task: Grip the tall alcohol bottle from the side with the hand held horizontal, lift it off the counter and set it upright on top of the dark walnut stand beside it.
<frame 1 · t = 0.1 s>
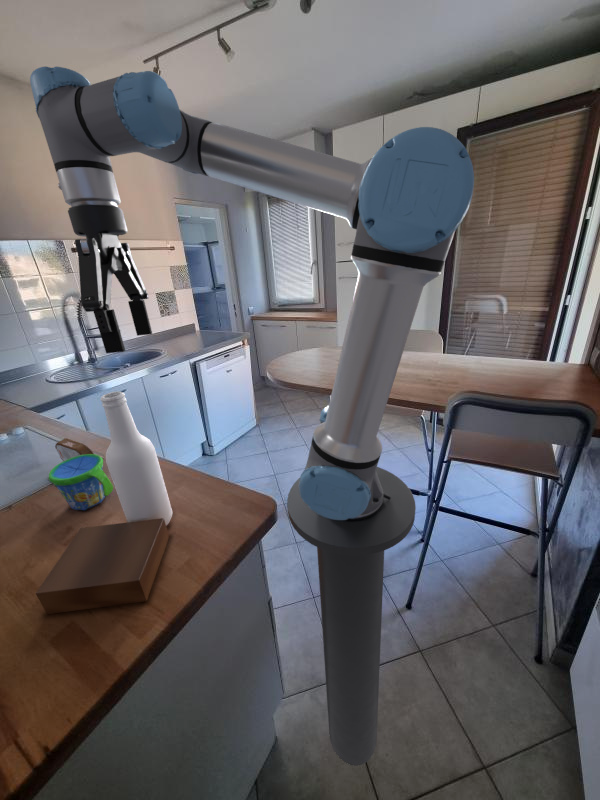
hand: (131, 342, 60), 39 cm above the counter, tool pointing down, fingers open, 13 cm apart
stand: (115, 571, 61), on the counter
snack cup: (89, 501, 81), on the counter
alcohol: (152, 522, 72), on the counter
tin: (81, 468, 95), on the counter
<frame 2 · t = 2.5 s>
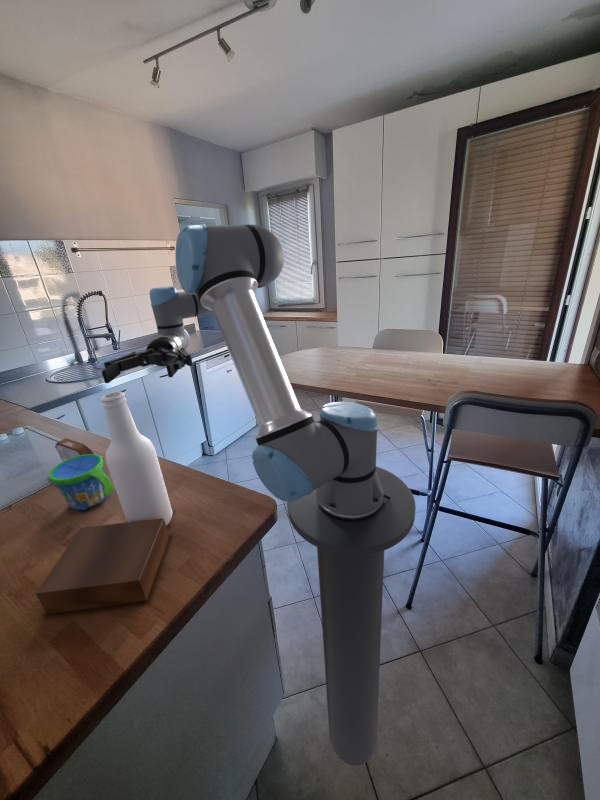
hand: (137, 374, 72), 30 cm above the counter, tool horizontal, fingers open, 13 cm apart
nothing on the counter moved.
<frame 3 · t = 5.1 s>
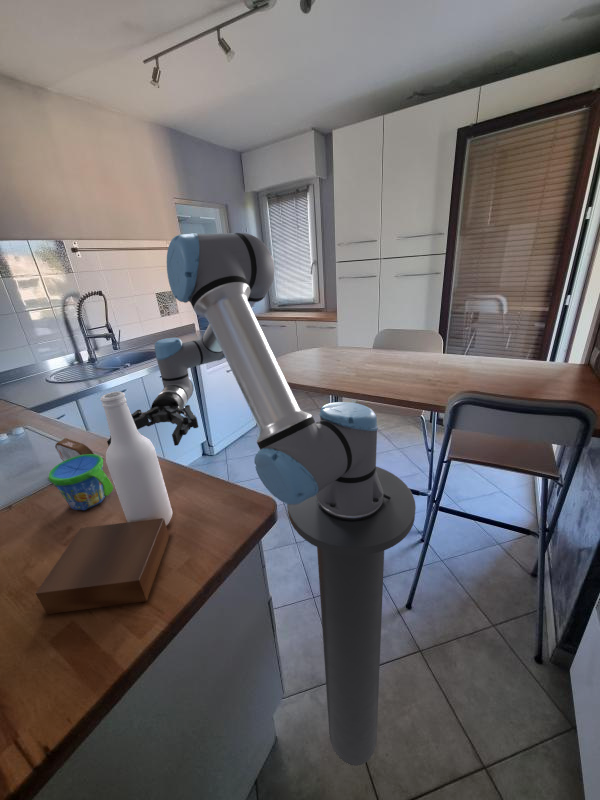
hand: (142, 443, 72), 16 cm above the counter, tool horizontal, fingers open, 13 cm apart
nothing on the counter moved.
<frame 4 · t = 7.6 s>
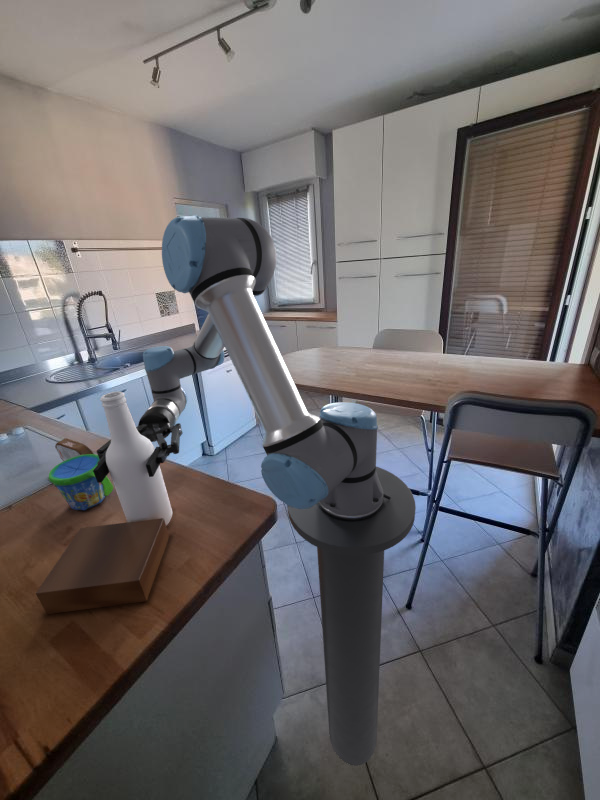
hand: (123, 473, 62), 16 cm above the counter, tool horizontal, fingers closed on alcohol, 9 cm apart
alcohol: (152, 522, 72), on the counter, touching gripper
everything else where it was.
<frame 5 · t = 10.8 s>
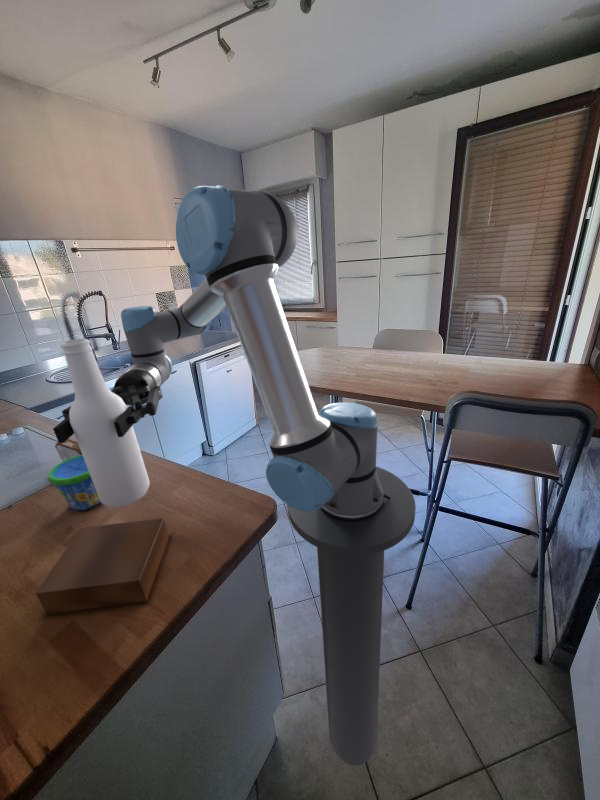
hand: (88, 432, 54), 27 cm above the counter, tool horizontal, fingers closed on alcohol, 9 cm apart
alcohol: (126, 494, 65), point 11 cm above the counter, touching gripper
everything else where it was.
when the fingers open (21 cm above the counter, at t = 14.3 s): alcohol stays where it is, resting on stand.
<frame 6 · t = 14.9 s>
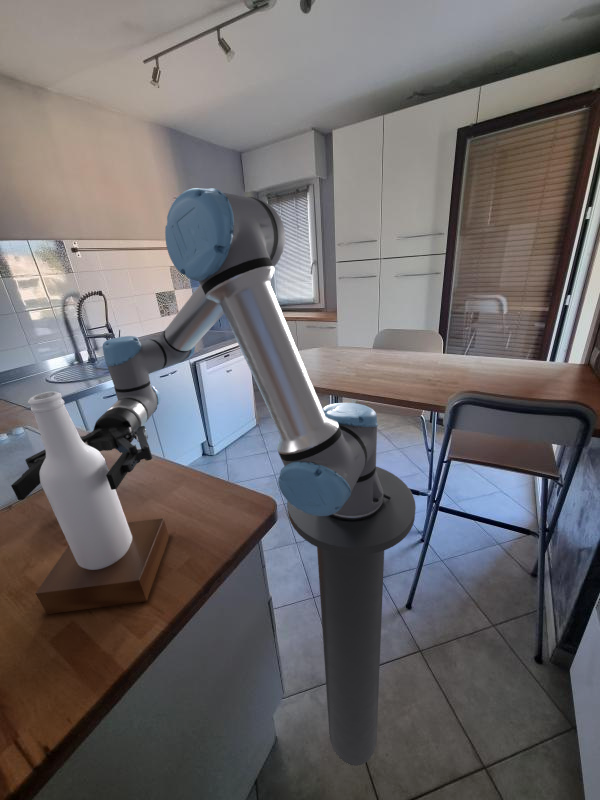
hand: (64, 487, 50), 21 cm above the counter, tool horizontal, fingers open, 13 cm apart
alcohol: (107, 551, 59), point 5 cm above the counter, touching stand
everything else where it was.
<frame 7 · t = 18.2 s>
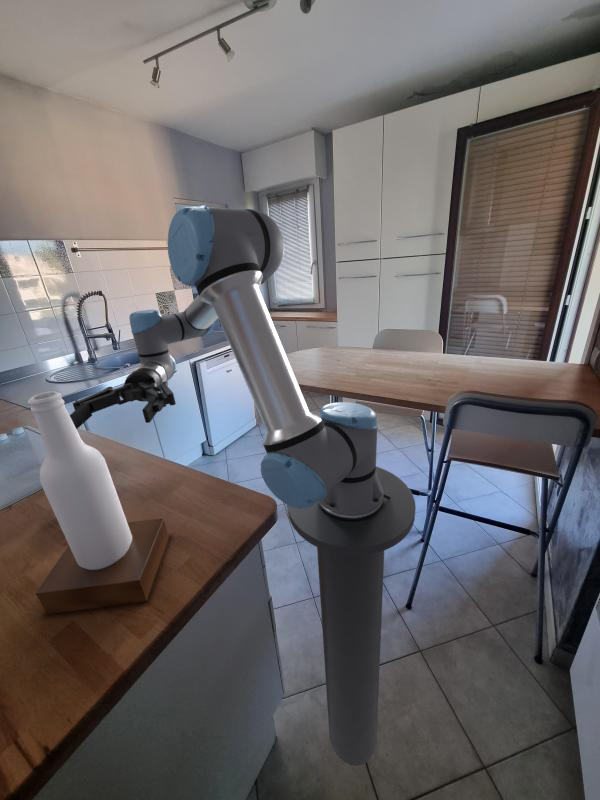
hand: (108, 420, 62), 25 cm above the counter, tool horizontal, fingers open, 13 cm apart
nothing on the counter moved.
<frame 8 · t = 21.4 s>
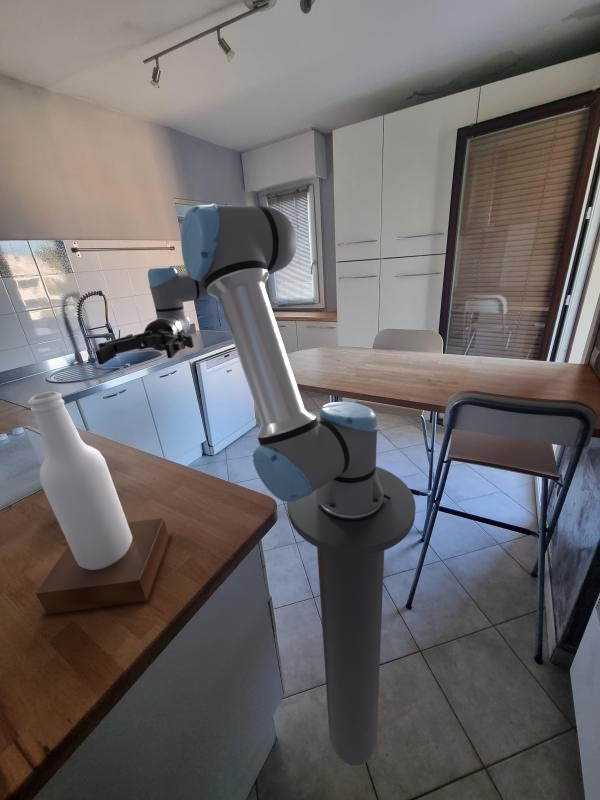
hand: (133, 354, 67), 35 cm above the counter, tool horizontal, fingers open, 13 cm apart
nothing on the counter moved.
at the end: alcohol inside the target area on the stand (0.1 cm from its centre), point 4.8 cm above the stand's base; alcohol tilted 0°; the gripper is holding nothing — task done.
